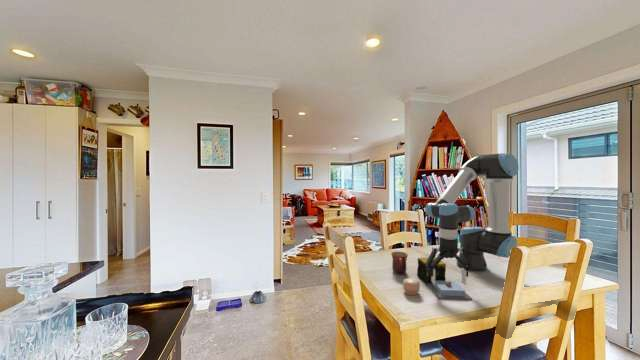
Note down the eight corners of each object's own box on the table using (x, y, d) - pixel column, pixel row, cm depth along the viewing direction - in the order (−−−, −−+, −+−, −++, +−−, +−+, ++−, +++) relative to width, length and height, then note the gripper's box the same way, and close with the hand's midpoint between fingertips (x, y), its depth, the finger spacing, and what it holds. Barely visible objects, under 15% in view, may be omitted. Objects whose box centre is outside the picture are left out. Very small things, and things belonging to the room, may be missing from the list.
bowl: (416, 289, 117) (416, 278, 117) (421, 296, 110) (421, 284, 110) (401, 288, 118) (401, 277, 118) (405, 296, 111) (405, 284, 111)
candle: (416, 276, 133) (416, 257, 132) (434, 275, 134) (435, 256, 133) (426, 284, 123) (426, 264, 122) (446, 283, 123) (446, 263, 123)
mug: (390, 268, 143) (390, 251, 143) (406, 270, 141) (406, 251, 141) (392, 277, 131) (392, 257, 131) (409, 278, 129) (409, 259, 129)
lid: (454, 285, 119) (454, 277, 119) (464, 296, 109) (464, 287, 109) (432, 285, 120) (432, 277, 120) (441, 295, 110) (441, 286, 110)
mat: (456, 285, 121) (456, 284, 121) (471, 299, 107) (471, 298, 107) (426, 284, 122) (426, 283, 122) (438, 298, 108) (438, 297, 108)
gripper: (472, 235, 117) (472, 280, 118) (417, 235, 119) (418, 279, 120) (481, 239, 110) (481, 287, 110) (423, 239, 112) (423, 286, 112)
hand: (448, 283), depth 115 cm, fingers open, 13 cm apart
